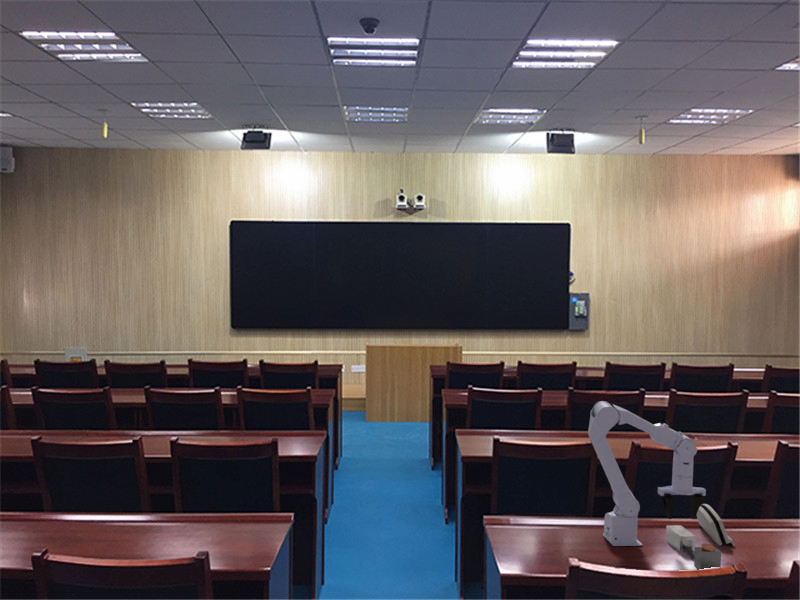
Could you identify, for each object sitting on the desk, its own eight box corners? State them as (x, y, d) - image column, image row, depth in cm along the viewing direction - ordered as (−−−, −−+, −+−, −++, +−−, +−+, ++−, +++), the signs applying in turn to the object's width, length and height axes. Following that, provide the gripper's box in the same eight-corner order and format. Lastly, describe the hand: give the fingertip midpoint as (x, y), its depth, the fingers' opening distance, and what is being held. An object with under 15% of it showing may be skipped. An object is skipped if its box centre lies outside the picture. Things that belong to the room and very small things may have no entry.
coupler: (700, 570, 165) (701, 548, 165) (679, 553, 175) (680, 532, 175) (720, 570, 165) (721, 548, 165) (698, 553, 176) (699, 532, 176)
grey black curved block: (735, 546, 181) (725, 516, 182) (720, 550, 182) (709, 519, 182) (714, 525, 198) (705, 496, 198) (700, 528, 199) (691, 500, 199)
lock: (665, 540, 184) (666, 525, 184) (680, 540, 185) (680, 525, 185) (679, 552, 176) (680, 536, 176) (694, 552, 177) (695, 536, 177)
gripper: (667, 478, 176) (665, 522, 176) (712, 479, 177) (710, 522, 177) (655, 471, 183) (653, 513, 183) (699, 471, 184) (697, 513, 184)
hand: (680, 517), depth 181 cm, fingers open, 7 cm apart
